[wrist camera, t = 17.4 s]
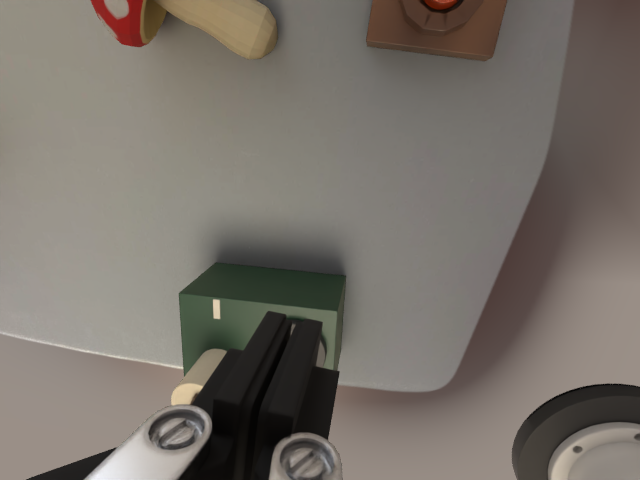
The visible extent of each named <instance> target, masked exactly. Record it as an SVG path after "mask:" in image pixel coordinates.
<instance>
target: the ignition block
mask: <svg viewBox="0 0 640 480" xmlns="http://www.w3.org/2000/svg"><path fill="white" fill-rule="evenodd" d="M506 3H507V0H459V1H458V2H457V3H456V4H455V5H453V6H452V7H450V8H447V9H443V10H437V9H434V8H431V7H430V6H428V5H427V4H426V3H425V1H424V0H373V1H372V7H371V14H370V20H369V26H368V32H367V39H366V42H367V46H370V47H377V48H385V49H393V50H401V51H409V52H417V53H424V54H432V55H440V56H448V57H456V58H464V59H471V60H479V61H487V60H488V59H490V58H492V57H493V54H494V50H495V46H496V42H497V38H498V34H499V30H500V26H501V22H502V18H503V15H504V11H505V7H506Z"/></svg>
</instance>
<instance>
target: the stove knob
mask: <svg viewBox="0 0 640 480" xmlns="http://www.w3.org/2000/svg"><path fill="white" fill-rule="evenodd" d="M226 353H227V351H225V350H222V349H210V350H207V351H205V352H204V353H203V354H202V355H201V356H200V358H199V359H198V360H197V361H196V363H195V364H194V365H193V366H192V368H191V369H190V370H189V372H188V373H187V374H186V375H185V377H184V378H183V379H182V380H181V382H180V383H179V384H178V386H177V387H176V388H175V390H174V391H173V393H172V397H171V403H172V405H177V404H189V405H191V404H192V402H193V401H194V400H195V398H196V397H197V395H198V394H199V392H200V391H201V389H202V388H203V386H204V385H205V383H206V382H207V381H208V379H209V378H210V376H211V375H212V373H213V372H214V370H215V369H216V367H217V366H218V364H219V363H220V361H221V360H222V359H223V357H224V356H225V354H226Z"/></svg>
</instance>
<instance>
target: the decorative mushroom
mask: <svg viewBox="0 0 640 480" xmlns="http://www.w3.org/2000/svg"><path fill="white" fill-rule="evenodd" d="M91 2H92V5H93V7H94V9H95V11H96V13H97V16H98V17H99V19H100V20H101V21H102V23H103V24H104V25H105V27H106V28H107V30H108V31H109V32H110V34H111V35H112V36H113V37H115V38H116V39H117V40H118V41H119V42H120V43H121V44H123V45H129V46H134V47H141V46H144V45H147V44H148V43H149V42H150V41H151V40H152V39H153V38H154V37H155V35H156V34H157V32H158V30H159V28H160V26H161V24H162V22H163V20H164V18H165V16H166V13H167V11H168V12H170V13H171V14H173V15H174V16H176V17H178V18H179V19H181V20H183V21H184V22H186V23H188V24H190V25H193V26H195V27H198V28H200V29H202V30H204V31H205V32H207V33H208V34H210V35H212V36H213V37H214V38H216V39H217V40H218V41H220V42H221V43H222V44H224V45H225V46H226V47H228V48H229V49H230V50H232V51H233V52H235V53H237V54H239V55H241V56H243V57H245V58H247V59H261V58H262V57H264V56H265V55H267V54H268V53H269V52H271V51H272V50H273V49H274V47H275V45H276V42H277V39H278V32H277V25H276V20H275V18H274V17H273V15H272V13H271V12H270V10H269V9H268V7H266V6H265V5H263V4H261V3H260V2H258V1H256V0H91Z"/></svg>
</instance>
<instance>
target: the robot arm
mask: <svg viewBox="0 0 640 480" xmlns="http://www.w3.org/2000/svg"><path fill="white" fill-rule="evenodd" d="M322 326H323V322H321V321H316V320H311V319H306V318H305V319H304V322H303V323H302V322H297V323H296V325H295V327H294V329H293V332H292V334H291V327H292V320H287V319H286V314H282V313H277V312H272V311H267V313H266V314H265V316H264V318H263V319H262V321H261V323H260V324H259V326H258V327H257V329H256V331H255V332H254V334H253V336H252V337H251V339H250V340H249V342H248V344H247V345H246V347H245V349H244V350H239V349H234V348H230V349H229V350H228V351H227V353H226V354H225V356H224V357H223V359H222V360H221V361H220V363H219V364H218V366H217V367H216V369H215V370H214V372H213V373H212V375H211V376H210V378H209V379H208V381H207V382H206V383H205V385H204V386H203V388H202V389H201V391H200V392H199V394H198V395H197V397H196V398H195V400H194V401H193V402H192V404H191V405H189V404H177V405H172V406H168V407H165V408H163V409H161V410H158V411H157V412H155V413H154V414H153V415H151V416H150V417H149V418H148V419H147V420H146V421H145V422H144V423H142V424H141V426H139V427H138V428H137V429H136V430H135V431H134V432H133V433H132V434H131V435H130V436H129V437H128V438H127V439H126V440H125V441H124V442H123V443H122V444H121V445H120V446H118V447H117V448H114V449H111V450H108V451H105V452H102V453H99V454H97V455H94V456H91V457H88V458H85V459H82V460H79V461H77V462H74V463H71V464H68V465H66V466H63V467H60V468H57V469H54V470H51V471H48V472H46V473H43V474H40V475H37V476H34V477H31V478H29V479H27V480H342V463H341V459H340V455H339V453H338V452H337V450H336V448H335V446H333V445H332V444H331V443H330V442H329V441H328V436H329V430H330V425H331V419H332V413H333V407H334V401H335V395H336V389H337V383H338V378H339V371H336V370H331V369H326V368H322V367H317V366H316V363H317V357H318V351H319V345H320V338H321V332H322ZM290 335H291V336H290ZM548 480H640V424H635V423H627V422H611V423H603V424H598V425H593V426H590V427H588V428H585V429H582V430H580V431H578V432H576V433H575V434H573V435H571V436H569V437H568V438H567V439H566V440H565V441H563V442H562V443H561V444H560V445H559V446H558V448H557V449H556V450H555V451H554V453H553V455H552V457H551V459H550V461H549V466H548Z"/></svg>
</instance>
